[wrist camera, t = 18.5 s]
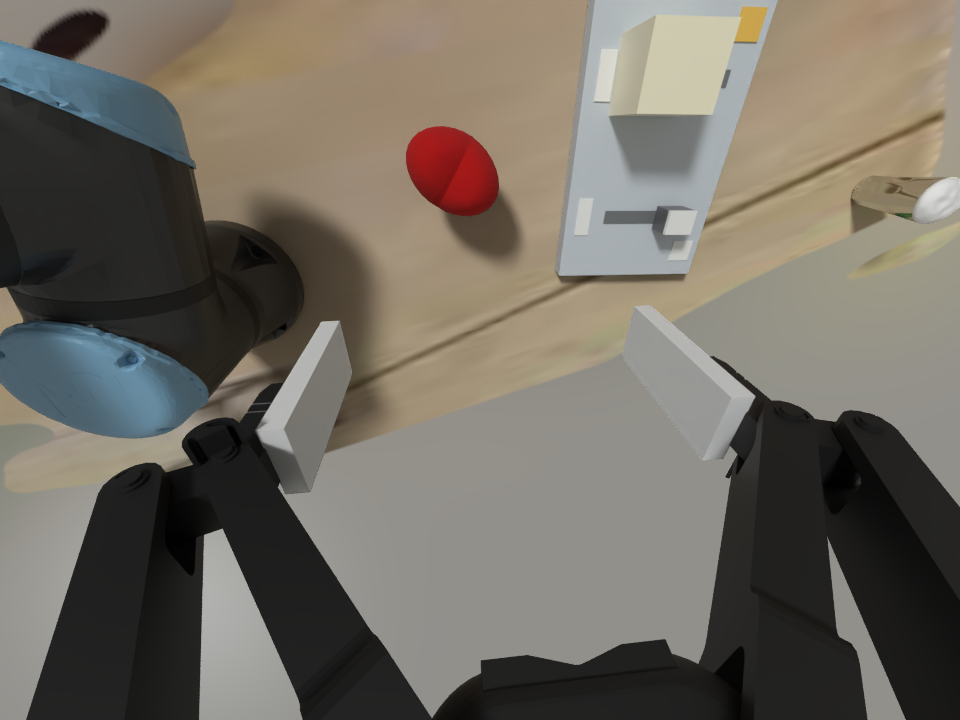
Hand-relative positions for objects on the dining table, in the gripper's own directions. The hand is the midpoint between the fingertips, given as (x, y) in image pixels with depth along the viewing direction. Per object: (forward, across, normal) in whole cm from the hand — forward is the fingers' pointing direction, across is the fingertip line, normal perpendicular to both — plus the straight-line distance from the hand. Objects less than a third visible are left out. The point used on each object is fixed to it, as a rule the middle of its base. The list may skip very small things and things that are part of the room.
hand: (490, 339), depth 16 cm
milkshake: (+31, +50, +1) cm, 59 cm away
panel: (+31, +21, +6) cm, 38 cm away
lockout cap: (+29, +19, +12) cm, 36 cm away
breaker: (+29, +24, -1) cm, 37 cm away
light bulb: (+31, -1, +4) cm, 32 cm away
